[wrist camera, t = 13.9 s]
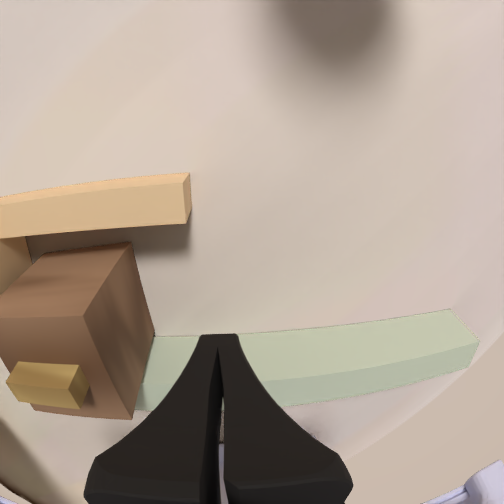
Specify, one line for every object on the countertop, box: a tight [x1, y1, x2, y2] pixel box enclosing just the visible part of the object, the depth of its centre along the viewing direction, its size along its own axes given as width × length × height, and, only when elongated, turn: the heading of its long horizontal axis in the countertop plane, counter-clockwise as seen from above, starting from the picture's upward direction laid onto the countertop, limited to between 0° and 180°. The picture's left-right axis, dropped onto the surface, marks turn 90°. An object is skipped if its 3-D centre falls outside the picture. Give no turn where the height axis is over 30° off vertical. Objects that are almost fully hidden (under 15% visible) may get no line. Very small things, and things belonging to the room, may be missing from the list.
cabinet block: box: [0, 242, 155, 420], centre depth 11 cm, size 5×5×7 cm
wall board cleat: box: [0, 173, 480, 411], centre depth 13 cm, size 10×26×4 cm, turn 91°
